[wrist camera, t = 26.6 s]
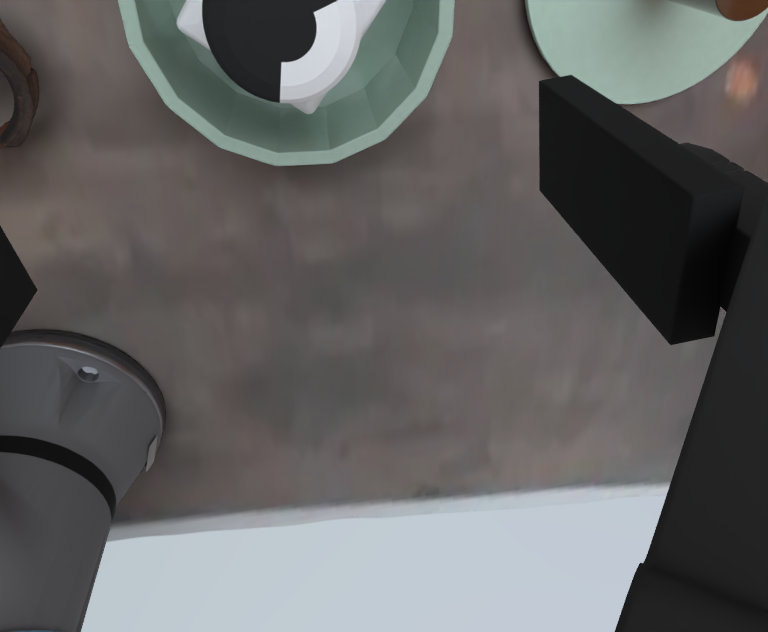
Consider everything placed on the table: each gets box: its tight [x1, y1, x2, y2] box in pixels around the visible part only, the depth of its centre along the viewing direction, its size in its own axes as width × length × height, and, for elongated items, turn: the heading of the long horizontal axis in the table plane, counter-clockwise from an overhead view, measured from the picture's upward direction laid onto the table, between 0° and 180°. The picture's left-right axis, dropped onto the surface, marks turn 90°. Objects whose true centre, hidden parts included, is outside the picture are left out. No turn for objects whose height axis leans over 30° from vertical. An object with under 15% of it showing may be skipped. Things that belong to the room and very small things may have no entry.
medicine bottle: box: [176, 0, 386, 114], centre depth 28 cm, size 7×7×12 cm
